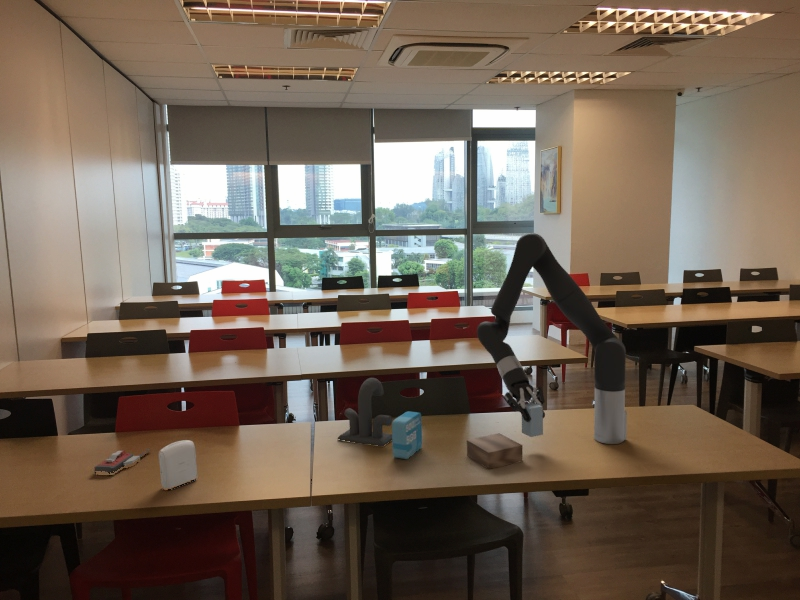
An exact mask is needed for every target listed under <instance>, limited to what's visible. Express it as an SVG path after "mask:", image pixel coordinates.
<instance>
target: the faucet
mask: <svg viewBox="0 0 800 600" xmlns="http://www.w3.org/2000/svg"><path fill="white" fill-rule="evenodd" d="M384 393H385V392H384V386H383V384H382V382H381V381H380V380H379V379H377V378H375V377H369V378H366V380H364V381H363V383H362V384H361V386H360V388H359V391H358V395H357V410H358V411H357V412H358V413H357V412H356V410H354V409H352V408H351V407H348V408H346V409H345V410H344V416H345V418H346V419H348V420H349V422H348V423H349V429H348V430H346V431H345V432H343V433H341V434H340V435H339V436H338V437H337V440H338V439H340V440H345V441H350V442H355V443H354V444H357V443H362V444H361V445H364V444H371V445H378V446H384V445H385V444H387V443H388V442H390V441H391V440H392V433H386V432H383V426H386V427H388V426H389V427H390V426H392V423H393V417H392V416H391V415H385V414H379V415H376V416H375V417H374V418H373V417H372V415H373V414H372V397H373V396H374V397H380V396H383V395H384ZM350 442H349V443H350ZM391 442H392V441H391ZM391 442H390V443H391ZM388 444H389V443H388ZM388 444H387V445H388ZM371 445H370V446H371ZM378 446H377V447H378ZM384 447H385V446H384Z"/></svg>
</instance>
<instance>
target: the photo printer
mask: <svg viewBox="0 0 800 600" xmlns="http://www.w3.org/2000/svg"><path fill="white" fill-rule="evenodd" d="M195 447H196V446H195V444H194V442H193V441H192V440H187V439H185V440H178V441H175V442H172V443H169V444H168V445H166V446H164V447H163V448H161V449H160V450H159V451H158V462H159V463H158V464H159V473H160V482H161V483H160V484H161V488H162V487H164V488H171V487H174V486H177V485H180V484H183V483H185V482H187V481H190V480H193V479H195V478H197V479H198V469H197V468H198V467H197V457H196V448H195Z"/></svg>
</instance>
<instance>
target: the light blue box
mask: <svg viewBox="0 0 800 600" xmlns="http://www.w3.org/2000/svg"><path fill="white" fill-rule="evenodd" d="M422 424H423V423H422V414H421V412H417V411H405V412H404V413H403V414H401V415H399V416H397V417H396V418H394V419H393V420H392V423H391V434H392V441H391V442H392V456H393V458H397V459H403V460H408V459H409V457H410V456H411V457H412V456H413V455H415V454H416V453H417V452H418V451H419V449H420V448H421V449H422V447H423V436H422V435H423V434H422V433H423V431H422V430H423V429H422ZM421 449H420V450H421ZM416 451H417V452H416ZM415 452H416V453H415ZM414 453H415V454H414ZM411 457H410V458H411Z"/></svg>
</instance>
